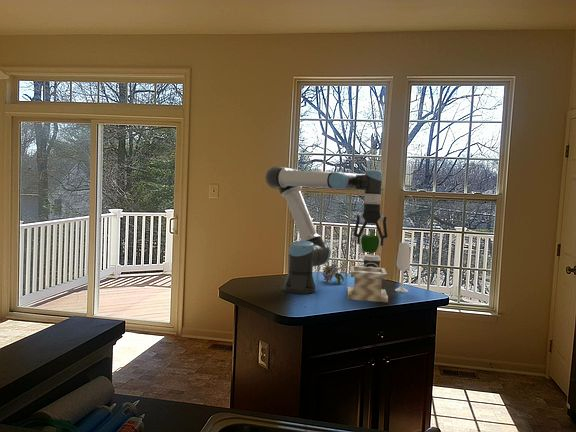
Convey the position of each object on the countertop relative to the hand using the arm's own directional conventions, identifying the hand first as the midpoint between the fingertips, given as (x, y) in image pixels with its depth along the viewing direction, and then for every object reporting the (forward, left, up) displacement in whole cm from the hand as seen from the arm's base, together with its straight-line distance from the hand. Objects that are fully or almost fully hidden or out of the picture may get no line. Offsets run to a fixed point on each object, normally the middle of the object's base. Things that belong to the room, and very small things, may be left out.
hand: (369, 251), depth 215 cm
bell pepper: (0, 0, 0) cm, 1 cm away
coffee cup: (+3, +31, -21) cm, 38 cm away
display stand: (0, 0, -21) cm, 21 cm away
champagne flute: (+18, +19, -21) cm, 34 cm away
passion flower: (-17, +28, -21) cm, 39 cm away
